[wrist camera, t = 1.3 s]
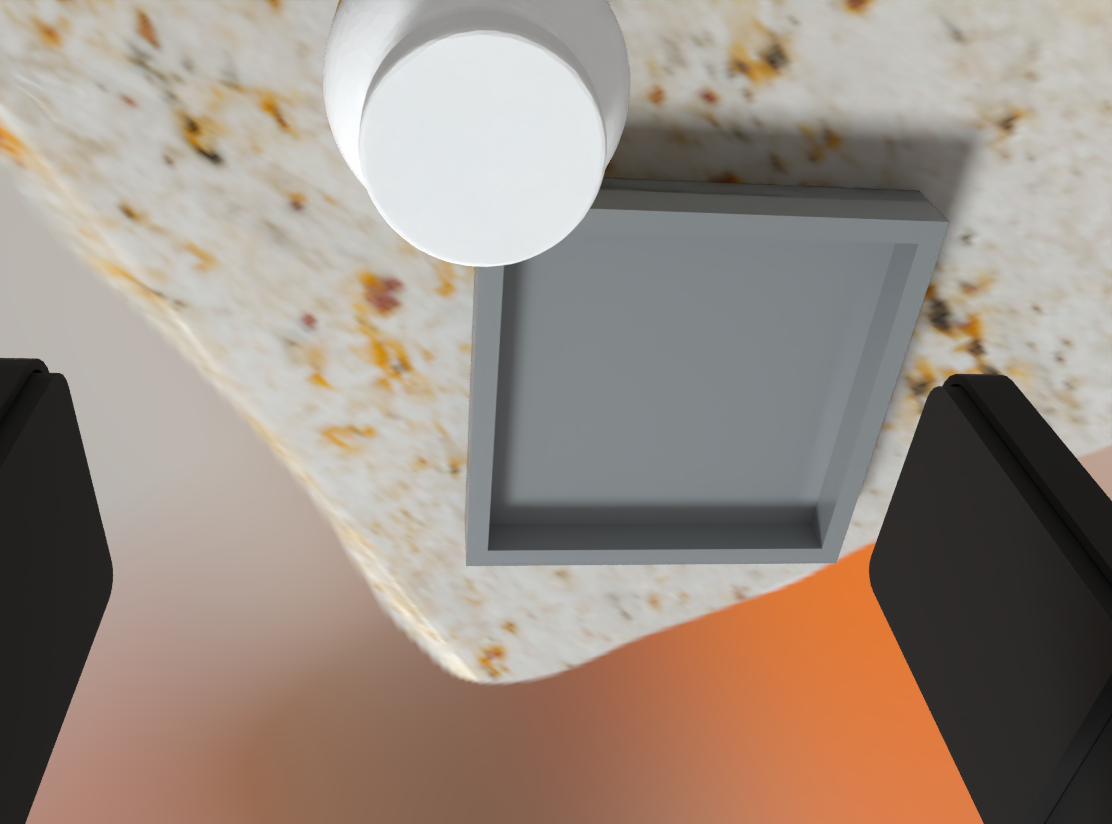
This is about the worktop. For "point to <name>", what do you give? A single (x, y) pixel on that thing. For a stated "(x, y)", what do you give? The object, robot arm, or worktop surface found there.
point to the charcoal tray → (691, 374)
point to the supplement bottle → (478, 117)
